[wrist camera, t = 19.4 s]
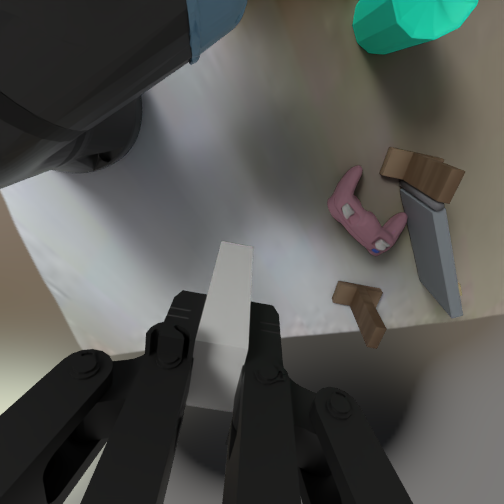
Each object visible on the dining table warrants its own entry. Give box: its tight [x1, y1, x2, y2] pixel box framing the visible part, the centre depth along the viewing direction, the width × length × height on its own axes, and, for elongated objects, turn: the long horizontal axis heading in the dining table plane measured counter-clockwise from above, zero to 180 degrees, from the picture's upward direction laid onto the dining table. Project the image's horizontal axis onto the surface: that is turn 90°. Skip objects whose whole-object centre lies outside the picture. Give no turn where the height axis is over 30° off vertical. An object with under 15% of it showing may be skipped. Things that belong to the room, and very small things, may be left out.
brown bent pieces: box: [332, 147, 465, 349], centre depth 37 cm, size 6×21×9 cm, turn 169°
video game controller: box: [327, 165, 408, 256], centre depth 37 cm, size 10×5×7 cm, turn 48°
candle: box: [352, 0, 478, 55], centre depth 25 cm, size 6×6×12 cm
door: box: [399, 179, 463, 318], centre depth 36 cm, size 2×14×8 cm, turn 23°
